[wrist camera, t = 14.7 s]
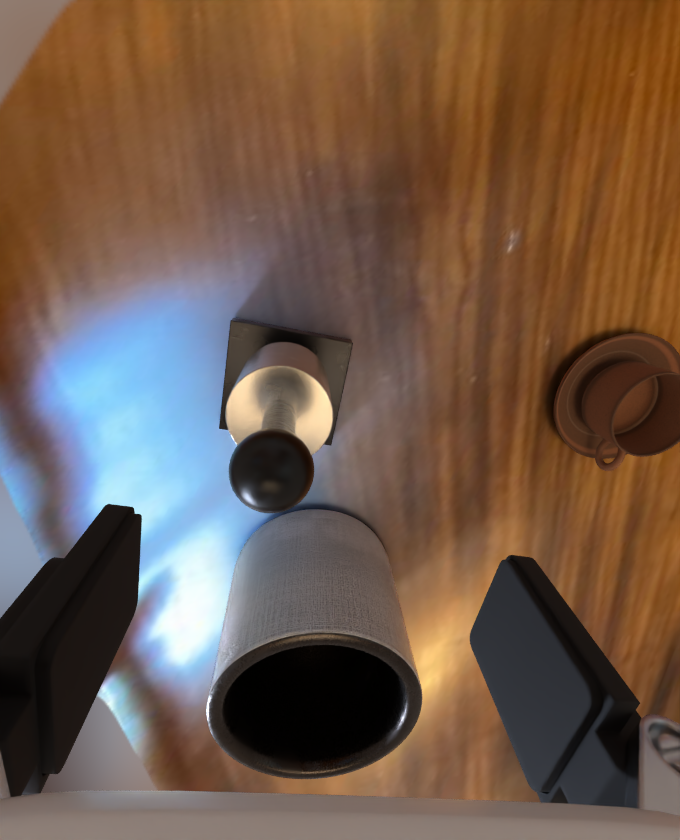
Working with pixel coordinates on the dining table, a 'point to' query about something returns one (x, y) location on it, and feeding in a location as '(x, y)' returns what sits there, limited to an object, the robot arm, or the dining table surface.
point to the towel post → (277, 425)
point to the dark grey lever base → (257, 335)
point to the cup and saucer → (621, 399)
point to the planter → (313, 651)
